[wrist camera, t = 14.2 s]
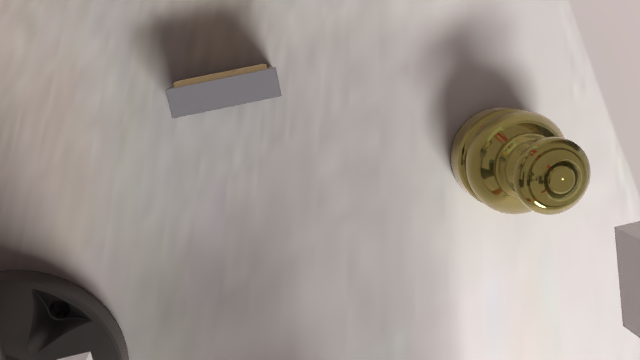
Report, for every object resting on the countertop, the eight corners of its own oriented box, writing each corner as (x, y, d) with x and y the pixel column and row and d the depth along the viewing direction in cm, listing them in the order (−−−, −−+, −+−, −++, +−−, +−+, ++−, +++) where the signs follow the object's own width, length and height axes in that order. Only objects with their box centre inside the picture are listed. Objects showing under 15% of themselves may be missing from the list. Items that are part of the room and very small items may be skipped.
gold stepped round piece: (522, 211, 48) (593, 250, 39) (435, 187, 47) (487, 221, 37) (554, 121, 47) (636, 138, 37) (466, 94, 46) (528, 104, 36)
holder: (179, 111, 43) (172, 118, 38) (136, -64, 41) (123, -80, 36) (276, 91, 44) (281, 95, 39) (240, -83, 41) (241, -101, 36)
